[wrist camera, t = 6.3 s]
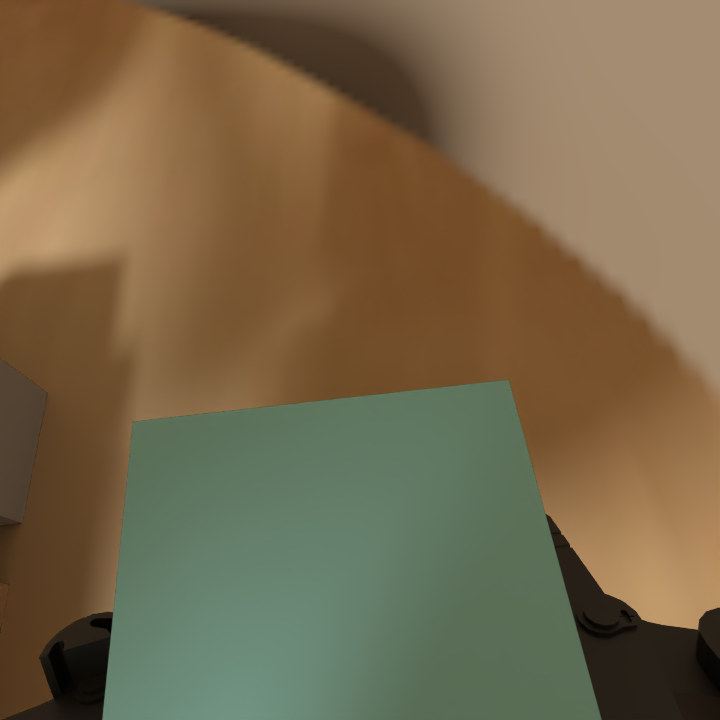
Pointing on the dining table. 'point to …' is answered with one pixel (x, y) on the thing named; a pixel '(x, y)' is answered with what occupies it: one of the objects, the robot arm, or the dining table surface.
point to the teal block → (342, 567)
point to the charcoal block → (17, 439)
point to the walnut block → (3, 600)
